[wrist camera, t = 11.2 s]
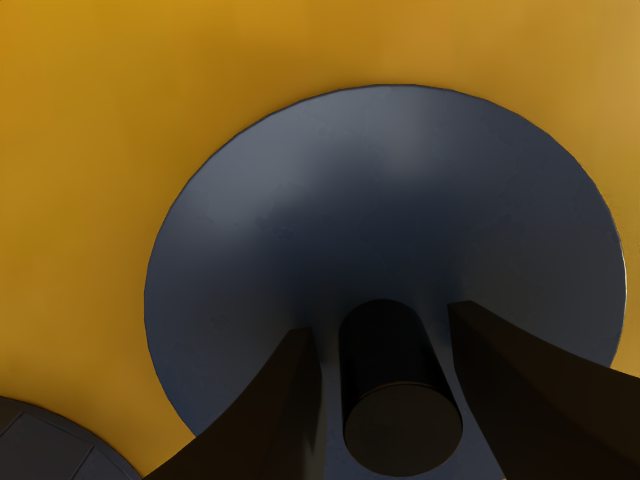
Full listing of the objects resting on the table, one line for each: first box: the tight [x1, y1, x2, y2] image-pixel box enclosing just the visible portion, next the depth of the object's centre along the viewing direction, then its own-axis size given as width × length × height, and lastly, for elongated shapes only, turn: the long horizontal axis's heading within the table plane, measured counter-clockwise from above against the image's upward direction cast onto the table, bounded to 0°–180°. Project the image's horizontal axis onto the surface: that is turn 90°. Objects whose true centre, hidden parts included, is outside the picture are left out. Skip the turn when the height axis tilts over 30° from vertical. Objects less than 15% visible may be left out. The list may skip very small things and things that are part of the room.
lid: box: [144, 84, 627, 480], centre depth 11 cm, size 13×13×5 cm
